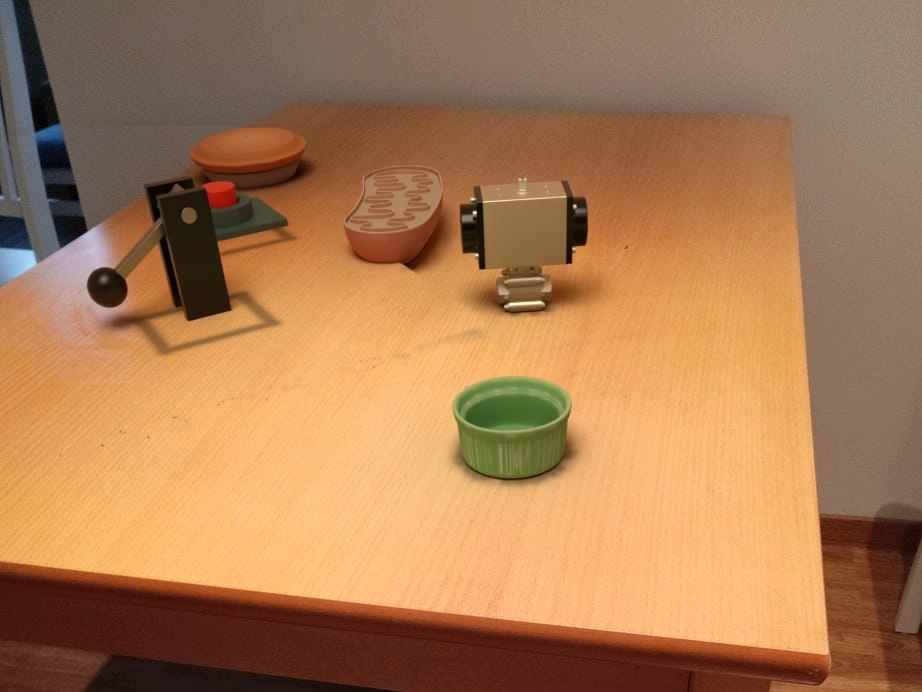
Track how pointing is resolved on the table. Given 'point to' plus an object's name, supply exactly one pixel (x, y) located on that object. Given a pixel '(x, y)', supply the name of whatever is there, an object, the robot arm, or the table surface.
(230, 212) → the button box
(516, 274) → the pneumatic valve
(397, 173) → the anatomical model
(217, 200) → the button
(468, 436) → the ramekin
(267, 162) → the pie
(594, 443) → the table surface
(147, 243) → the lever
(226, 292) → the bracket
